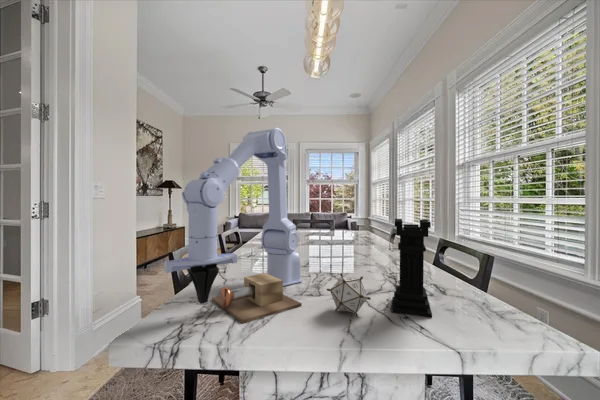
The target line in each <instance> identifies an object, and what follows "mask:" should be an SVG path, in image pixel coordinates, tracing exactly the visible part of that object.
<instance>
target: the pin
mask: <svg viewBox="0 0 600 400" xmlns="http://www.w3.org/2000/svg"><path fill="white" fill-rule="evenodd" d="M219 296H220V301H221V304H222V306H223V307H229V306H230V305H231V303H232V301H235V300H240V299H244V298H248V297H252V296H255V286H254V285H253V286H248V287H244V286H243V287H239V288H235V289H231V288H230V287H228V286H224V287H221V288H220V290H219Z"/></svg>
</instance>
